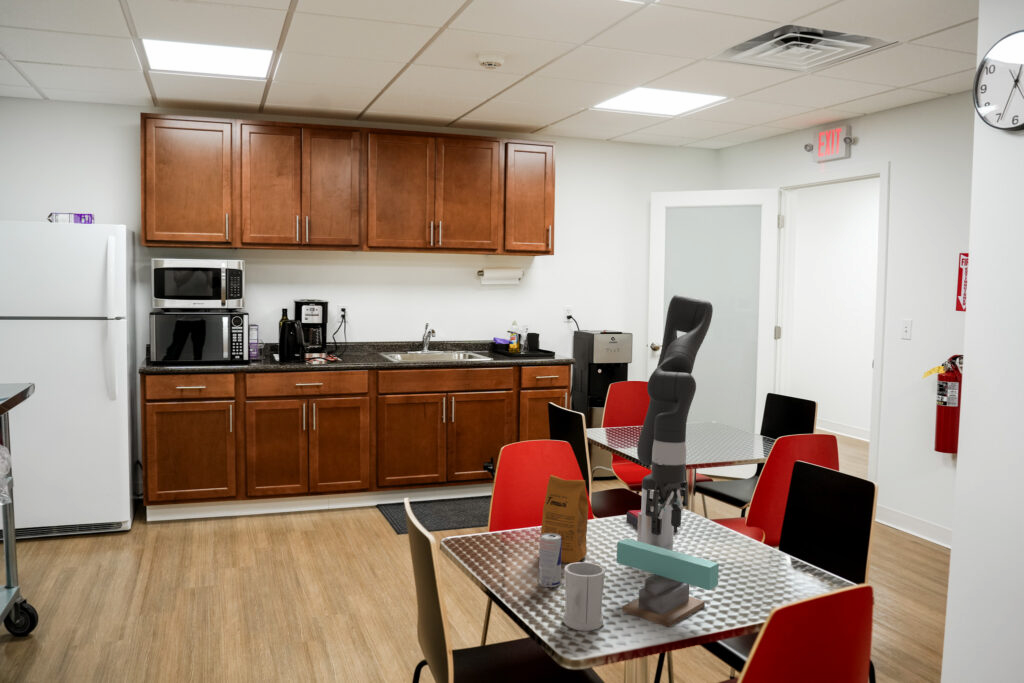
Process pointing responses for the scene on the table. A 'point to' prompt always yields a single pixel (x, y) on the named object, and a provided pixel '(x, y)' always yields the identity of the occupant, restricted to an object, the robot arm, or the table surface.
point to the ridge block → (663, 601)
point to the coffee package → (567, 516)
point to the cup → (583, 596)
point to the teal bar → (668, 563)
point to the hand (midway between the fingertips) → (666, 530)
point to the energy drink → (550, 560)
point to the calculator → (633, 518)
